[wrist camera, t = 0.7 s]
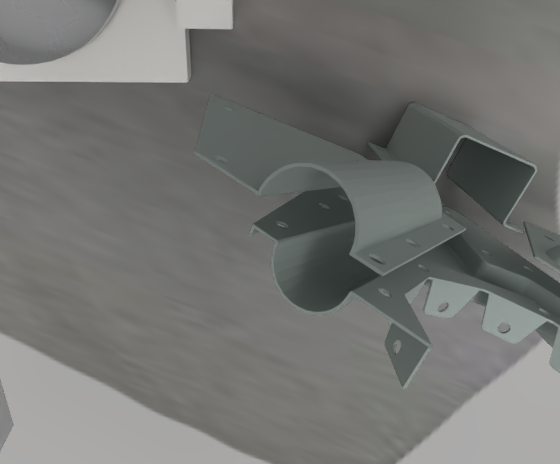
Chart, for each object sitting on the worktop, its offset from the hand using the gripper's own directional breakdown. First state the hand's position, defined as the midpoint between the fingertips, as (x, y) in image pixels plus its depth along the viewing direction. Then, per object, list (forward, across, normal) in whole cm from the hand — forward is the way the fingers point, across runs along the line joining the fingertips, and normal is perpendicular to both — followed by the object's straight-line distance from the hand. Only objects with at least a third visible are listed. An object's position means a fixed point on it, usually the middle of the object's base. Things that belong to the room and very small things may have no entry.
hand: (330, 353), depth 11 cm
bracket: (+24, +9, -4) cm, 26 cm away
